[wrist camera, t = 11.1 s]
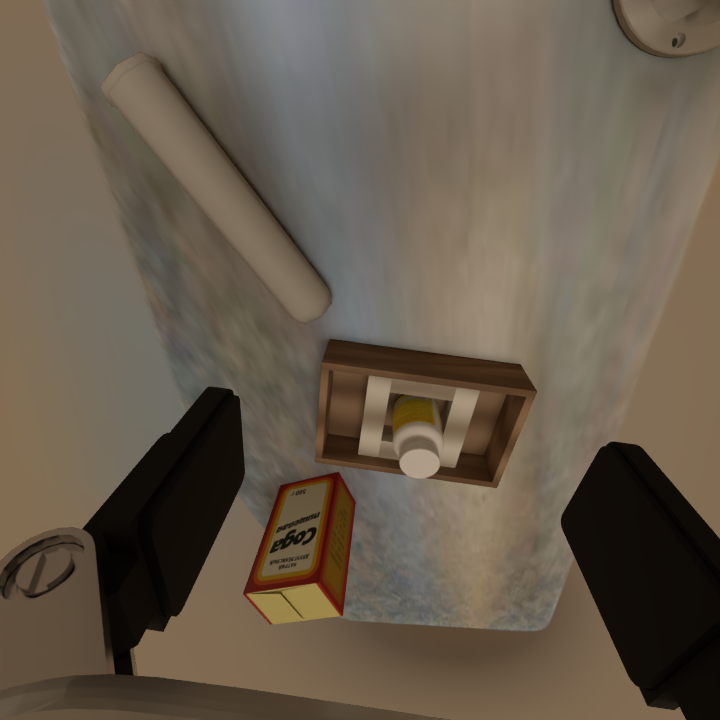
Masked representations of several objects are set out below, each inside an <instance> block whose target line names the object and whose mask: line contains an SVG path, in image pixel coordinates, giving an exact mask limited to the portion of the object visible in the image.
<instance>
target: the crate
mask: <svg viewBox="0 0 720 720" xmlns="http://www.w3.org/2000/svg"><path fill="white" fill-rule="evenodd" d="M536 393H537V391H536V389H535V387H534V386H533V384H532V382H531V381H530V379H529V378H528V376H527V374H526V373H525V371H524V369H523V368H522V366H521V365H519V364H511V363H504V362H496V361H489V360H481V359H474V358H466V357H459V356H452V355H444V354H437V353H429V352H422V351H414V350H407V349H399V348H392V347H385V346H377V345H370V344H362V343H355V342H347V341H340V340H332V339H330V341H329V343H328V346H327V349H326V352H325V354H324V357H323V360H322V364H321V380H320V395H319V411H318V426H317V442H316V457H315V462H316V463H323V464H330V465H337V466H345V467H352V468H359V469H366V470H373V471H380V472H387V473H394V474H401V475H406V474H405V473H404V472H403V471H402V470H401V468H400V465H399V457H398V455H397V454H396V453H395V451H394V448H393V439H392V436H393V403H394V400H395V398H396V397H397V396H398V395H399V394H406V395H413V396H420V397H427V398H435V399H436V400H437V403H438V408H439V414H440V420H441V426H442V432H443V438H444V448H443V451H442V453H441V454H440V456H439V458H440V467H439V469H438V471H437V472H436V473H435V474H433V475H432V476H430V477H427V478H429V479H436V480H443V481H451V482H458V483H465V484H472V485H479V486H486V487H493V488H497V487H498V484H499V482H500V479H501V477H502V475H503V472H504V470H505V467H506V465H507V463H508V460H509V458H510V455H511V453H512V451H513V448H514V446H515V443H516V441H517V439H518V436H519V434H520V431H521V429H522V427H523V424H524V422H525V419H526V417H527V415H528V412H529V410H530V407H531V405H532V403H533V400H534V398H535V395H536Z"/></svg>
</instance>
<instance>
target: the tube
mask: <svg viewBox="0 0 720 720" xmlns="http://www.w3.org/2000/svg"><path fill="white" fill-rule="evenodd" d="M101 87H102V90H103V92H104V95H105V98H106V101H107V102H108V103H109V104H110V105H111V106H113V107H116V108H117V109H118V110H119V112H120V113H121V114H122V115H123V116H124V118H125V119H126V120H127V121H128V122H129V124H130V125H131V126H132V127H133V128H134V130H135V131H136V132H137V133H138V134H139V136H140V137H141V138H142V139H143V140H144V141H145V143H146V144H147V145H148V146H149V147H150V149H151V150H152V151H153V152H154V153H155V155H156V156H157V157H158V158H159V159H160V161H161V162H162V163H163V164H164V165H165V167H166V168H167V169H168V170H169V171H170V173H171V174H172V175H173V176H174V177H175V179H176V180H177V181H178V182H179V183H180V185H181V186H182V187H183V188H184V189H185V191H186V192H187V193H188V194H189V195H190V196H191V198H192V199H193V200H194V201H195V202H196V204H197V205H198V206H199V207H200V208H201V210H202V211H203V212H204V213H205V214H206V216H207V217H208V218H209V219H210V220H211V222H212V223H213V224H214V225H215V226H216V228H217V229H218V230H219V231H220V232H221V234H222V235H223V236H224V237H225V238H226V240H227V241H228V242H229V243H230V244H231V246H232V247H233V248H234V249H235V250H236V251H237V253H238V254H239V255H240V256H241V257H242V259H243V260H244V261H245V262H246V263H247V265H248V266H249V267H250V268H251V269H252V271H253V272H254V273H255V274H256V275H257V277H258V278H259V279H260V280H261V281H262V283H263V284H264V285H265V286H266V287H267V289H268V290H269V291H270V292H271V293H272V295H273V296H274V297H275V298H276V299H277V301H278V302H279V303H280V304H281V305H282V306H283V308H284V309H285V310H286V311H287V312H288V314H289V315H290V316H291V317H292V318H293V319H295V320H297V321H299V322H301V323H303V324H306V323H309V322H311V321H313V320H315V319H317V318H320V317H321V316H322V315H323V314H324V312H325V311H326V310H327V309H328V307H329V306H330V305H331V304H332V301H331V297H330V292H329V289H328V288H327V286H326V285H325V284H324V282H323V281H322V280H321V279H320V277H319V276H318V275H317V273H316V272H315V271H314V269H313V268H312V267H311V265H310V264H309V263H308V261H307V260H306V259H305V258H304V256H303V255H302V254H301V252H300V251H299V250H298V248H297V247H296V246H295V244H294V243H293V242H292V240H291V239H290V238H289V236H288V235H287V234H286V233H285V231H284V230H283V229H282V227H281V226H280V225H279V223H278V222H277V221H276V219H275V218H274V217H273V215H272V214H271V213H270V212H269V210H268V209H267V208H266V206H265V205H264V204H263V202H262V201H261V200H260V198H259V197H258V196H257V194H256V193H255V192H254V191H253V189H252V188H251V187H250V185H249V184H248V183H247V181H246V180H245V179H244V177H243V176H242V175H241V173H240V172H239V171H238V170H237V168H236V167H235V166H234V164H233V163H232V162H231V160H230V159H229V158H228V156H227V155H226V154H225V152H224V151H223V150H222V149H221V147H220V146H219V145H218V143H217V142H216V141H215V139H214V138H213V137H212V135H211V134H210V133H209V131H208V130H207V129H206V127H205V126H204V125H203V124H202V122H201V121H200V120H199V118H198V117H197V116H196V114H195V113H194V112H193V110H192V109H191V108H190V106H189V105H188V104H187V103H186V101H185V100H184V99H183V97H182V96H181V95H180V93H179V92H178V91H177V89H176V88H175V87H174V85H173V84H172V83H171V82H170V80H169V79H168V78H167V76H166V75H165V74H164V72H163V71H162V68H161V64H160V62H159V61H158V60H157V59H156V58H154V57H152V56H149V55H147V54H145V53H142V52H139V53H137V54H135V55H133V56H132V57H130V58H128V59H126V60H124V61H122V62H121V63H119V64H117V65H116V66H115V67H114V69H113V70H112V71H111V73H110V74H109V75H108V76H107V78H106V79H105V80H104V82H103V83H102V84H101Z"/></svg>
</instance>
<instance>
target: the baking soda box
mask: <svg viewBox="0 0 720 720" xmlns="http://www.w3.org/2000/svg"><path fill="white" fill-rule="evenodd" d="M355 504H356V502H355V500H354V499H353V497H352V495H351V493H350V491H349V490H348V488H347V486H346V484H345V482H344V481H343V479H342V477H341V475H340V473H339V472H337V473H332V474H328V475H324V476H319V477H315V478H311V479H306V480H302V481H298V482H293V483H289V484H285V485H281V487H280V490H279V492H278V495H277V498H276V501H275V504H274V507H273V510H272V512H271V515H270V518H269V521H268V524H267V527H266V530H265V533H264V535H263V538H262V541H261V544H260V547H259V550H258V553H257V555H256V558H255V561H254V564H253V567H252V570H251V573H250V576H249V578H248V581H247V584H246V587H245V590H244V593H243V595H244V596H245V597H246V598H247V599H248V600H249V601H250V603H251V604H252V605H253V606H254V607H255V608H256V609H257V610H258V611H259V613H260V614H261V615H262V616H263V617H264V618H265V619H266V620H267V621H268V622H269V624H270V625H271V624H279V623H287V622H296V621H304V620H311V619H319V618H327V617H336V616H343V609H344V600H345V592H346V583H347V574H348V565H349V556H350V548H351V539H352V530H353V521H354V512H355Z"/></svg>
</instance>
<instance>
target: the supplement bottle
mask: <svg viewBox="0 0 720 720" xmlns="http://www.w3.org/2000/svg"><path fill="white" fill-rule="evenodd" d="M392 439H393V448H394V451H395V453H396V454H397V455H398V457H399V465H400V468H401V470H402V471H403V472H404V473H405V474H406V475H408V476H410V477H413V478H427V477H430V476H432V475H433V474H435V473H436V472H437V471H438V469H439V467H440V458H439V456H440V454H441V453H442V451H443V448H444V438H443V432H442V426H441V420H440V414H439V408H438V403H437V400H436V399H435V398H427V397H420V396H413V395H406V394H399V395H398V396H397V397H396V398H395V400H394V403H393V436H392Z"/></svg>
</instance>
